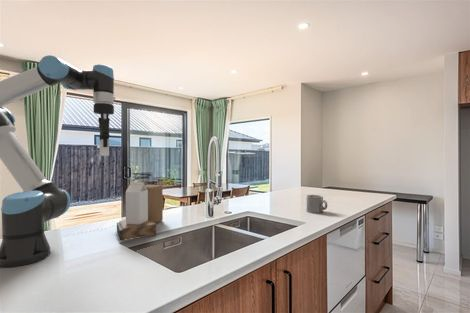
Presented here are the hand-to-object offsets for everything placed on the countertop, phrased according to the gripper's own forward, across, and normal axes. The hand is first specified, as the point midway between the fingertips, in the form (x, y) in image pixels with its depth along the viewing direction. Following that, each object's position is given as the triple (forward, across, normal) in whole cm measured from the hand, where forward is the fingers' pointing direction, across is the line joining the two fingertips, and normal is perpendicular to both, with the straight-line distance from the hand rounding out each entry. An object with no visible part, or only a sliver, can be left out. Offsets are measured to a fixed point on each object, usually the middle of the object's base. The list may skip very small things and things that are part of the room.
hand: (104, 155), depth 106 cm
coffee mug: (+37, -4, -120) cm, 126 cm away
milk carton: (+32, +8, -14) cm, 36 cm away
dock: (+37, +8, -14) cm, 40 cm away
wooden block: (+37, +24, -23) cm, 50 cm away
